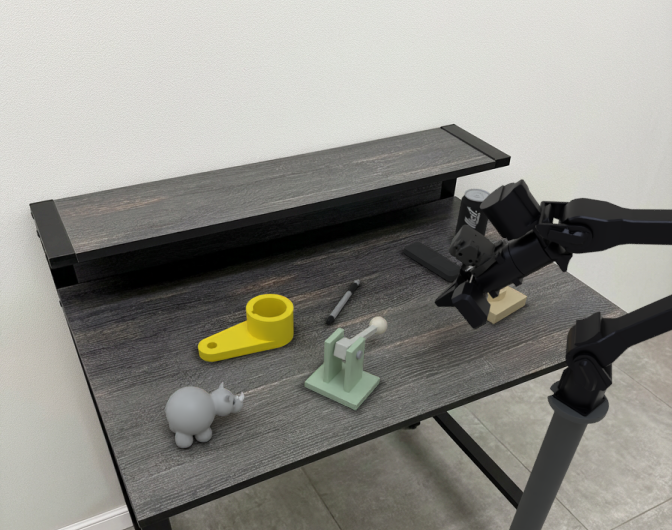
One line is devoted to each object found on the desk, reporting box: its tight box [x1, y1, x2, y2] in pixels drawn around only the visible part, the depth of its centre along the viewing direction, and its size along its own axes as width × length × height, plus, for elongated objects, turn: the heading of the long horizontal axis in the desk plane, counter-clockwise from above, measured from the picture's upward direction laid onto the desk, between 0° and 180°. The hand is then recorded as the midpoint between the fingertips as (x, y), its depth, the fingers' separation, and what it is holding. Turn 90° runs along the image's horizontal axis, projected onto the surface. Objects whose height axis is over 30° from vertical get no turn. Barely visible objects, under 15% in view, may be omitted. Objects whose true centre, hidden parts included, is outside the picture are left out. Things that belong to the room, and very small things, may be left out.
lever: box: [334, 316, 388, 361], centre depth 105 cm, size 15×3×3 cm, turn 148°
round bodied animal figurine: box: [164, 381, 245, 449], centre depth 94 cm, size 7×12×8 cm, turn 114°
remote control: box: [402, 241, 461, 283], centre depth 135 cm, size 5×2×15 cm
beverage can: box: [454, 188, 491, 237], centre depth 139 cm, size 7×7×12 cm
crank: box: [197, 293, 295, 363], centre depth 111 cm, size 18×8×6 cm, turn 121°
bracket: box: [304, 327, 381, 411], centre depth 103 cm, size 8×10×10 cm
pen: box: [325, 278, 361, 325], centre depth 123 cm, size 1×16×1 cm, turn 158°
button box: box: [487, 285, 528, 325], centre depth 125 cm, size 12×10×4 cm
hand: (436, 303), depth 103 cm, fingers closed
